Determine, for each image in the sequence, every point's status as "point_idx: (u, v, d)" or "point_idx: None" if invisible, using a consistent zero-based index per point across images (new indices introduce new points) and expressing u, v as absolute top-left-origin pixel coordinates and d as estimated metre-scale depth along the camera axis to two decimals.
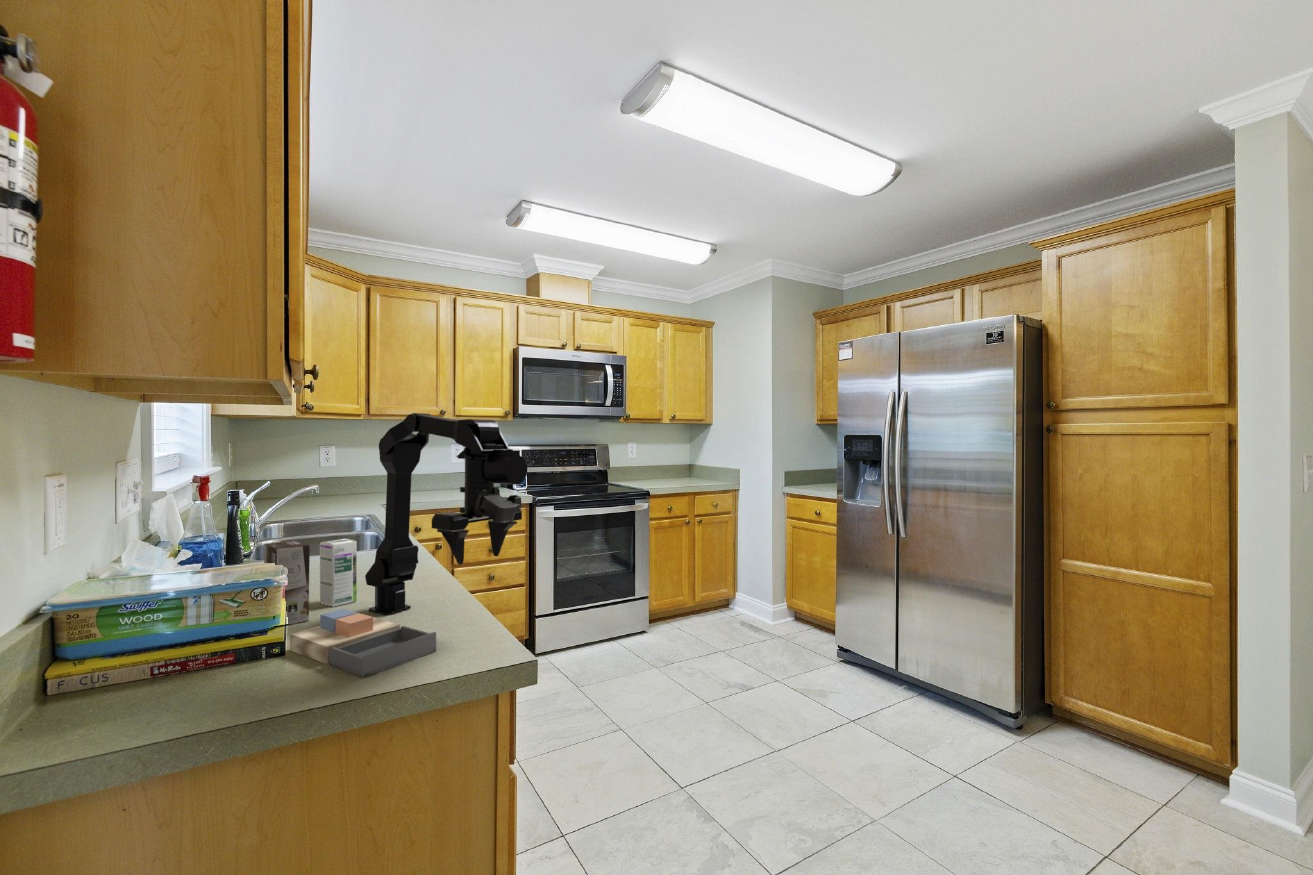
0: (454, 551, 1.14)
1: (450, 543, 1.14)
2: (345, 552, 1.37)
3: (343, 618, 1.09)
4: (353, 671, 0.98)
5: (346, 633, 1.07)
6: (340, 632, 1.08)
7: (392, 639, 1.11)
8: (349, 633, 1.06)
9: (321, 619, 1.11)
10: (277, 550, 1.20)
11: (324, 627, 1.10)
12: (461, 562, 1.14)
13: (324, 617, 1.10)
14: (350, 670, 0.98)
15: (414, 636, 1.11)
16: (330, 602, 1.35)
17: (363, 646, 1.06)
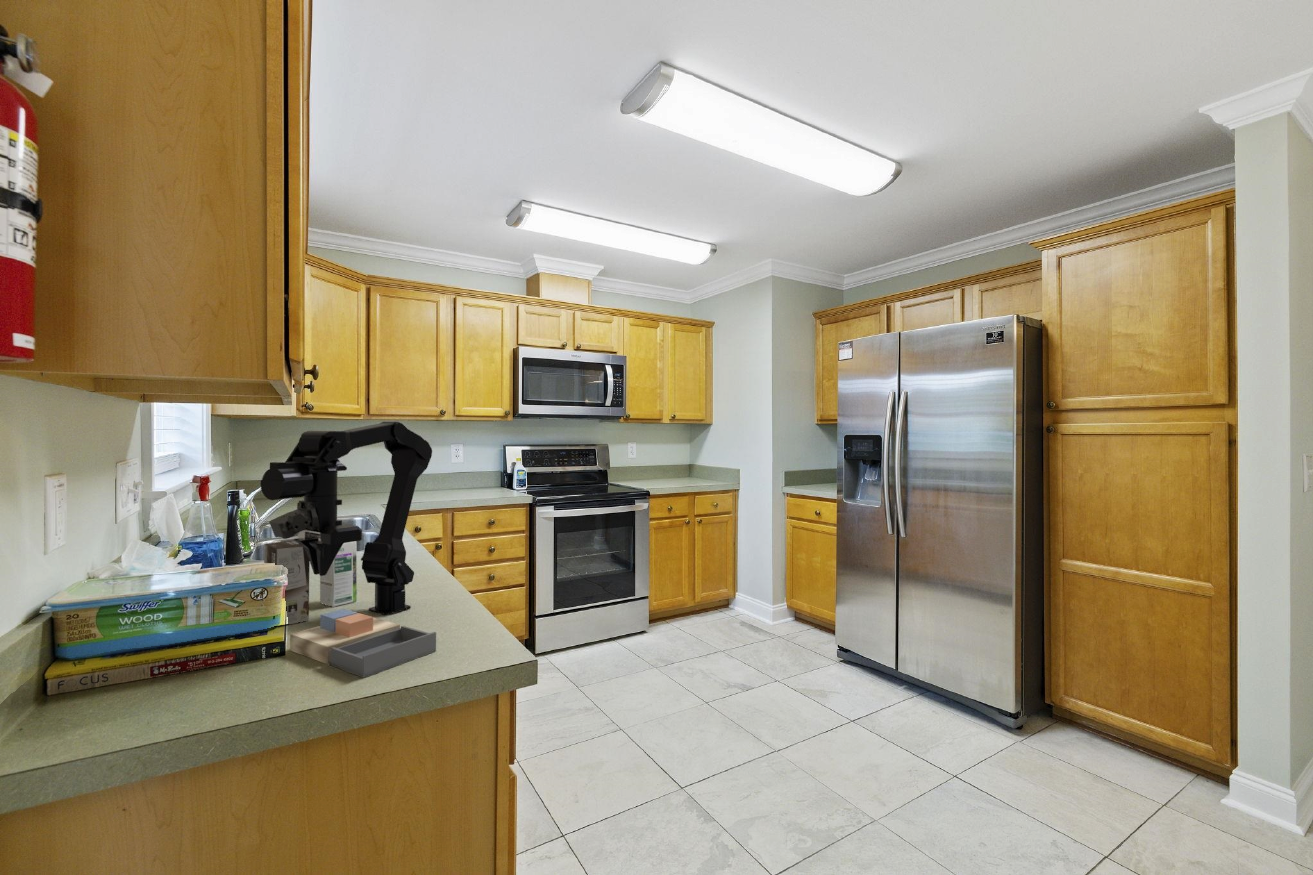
0: None
1: None
2: (345, 552, 1.37)
3: (343, 618, 1.09)
4: (353, 671, 0.98)
5: (346, 633, 1.07)
6: (340, 632, 1.08)
7: (392, 639, 1.11)
8: (349, 633, 1.06)
9: (321, 619, 1.11)
10: (277, 550, 1.20)
11: (324, 627, 1.10)
12: None
13: (324, 617, 1.10)
14: (350, 670, 0.98)
15: (414, 636, 1.11)
16: (330, 602, 1.35)
17: (363, 646, 1.06)
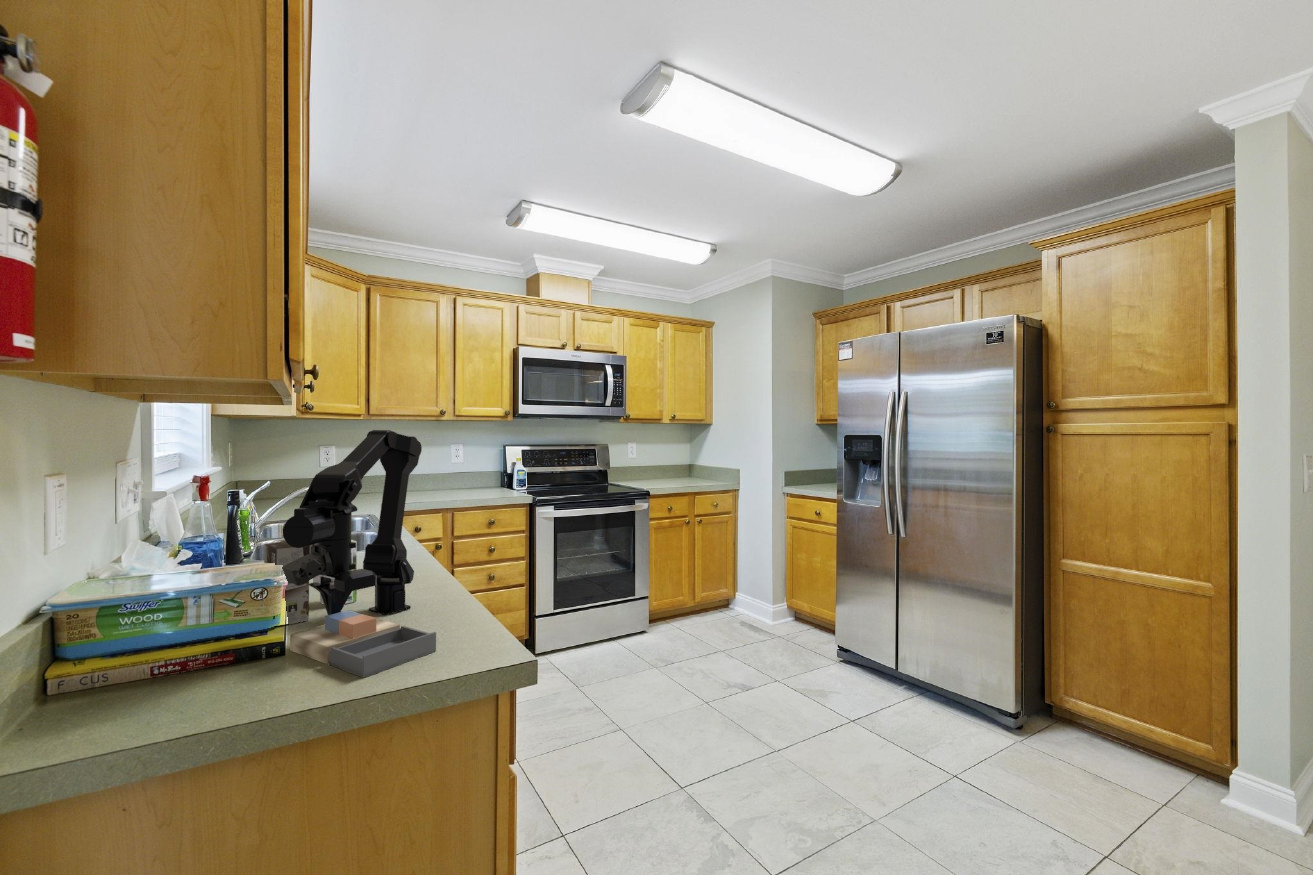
0: None
1: None
2: None
3: (346, 619, 1.08)
4: (353, 671, 0.98)
5: (349, 634, 1.06)
6: (343, 633, 1.07)
7: (392, 639, 1.11)
8: (352, 634, 1.06)
9: (326, 621, 1.10)
10: (277, 550, 1.20)
11: (329, 629, 1.10)
12: None
13: (328, 618, 1.10)
14: (350, 670, 0.98)
15: (414, 636, 1.11)
16: None
17: (363, 646, 1.06)
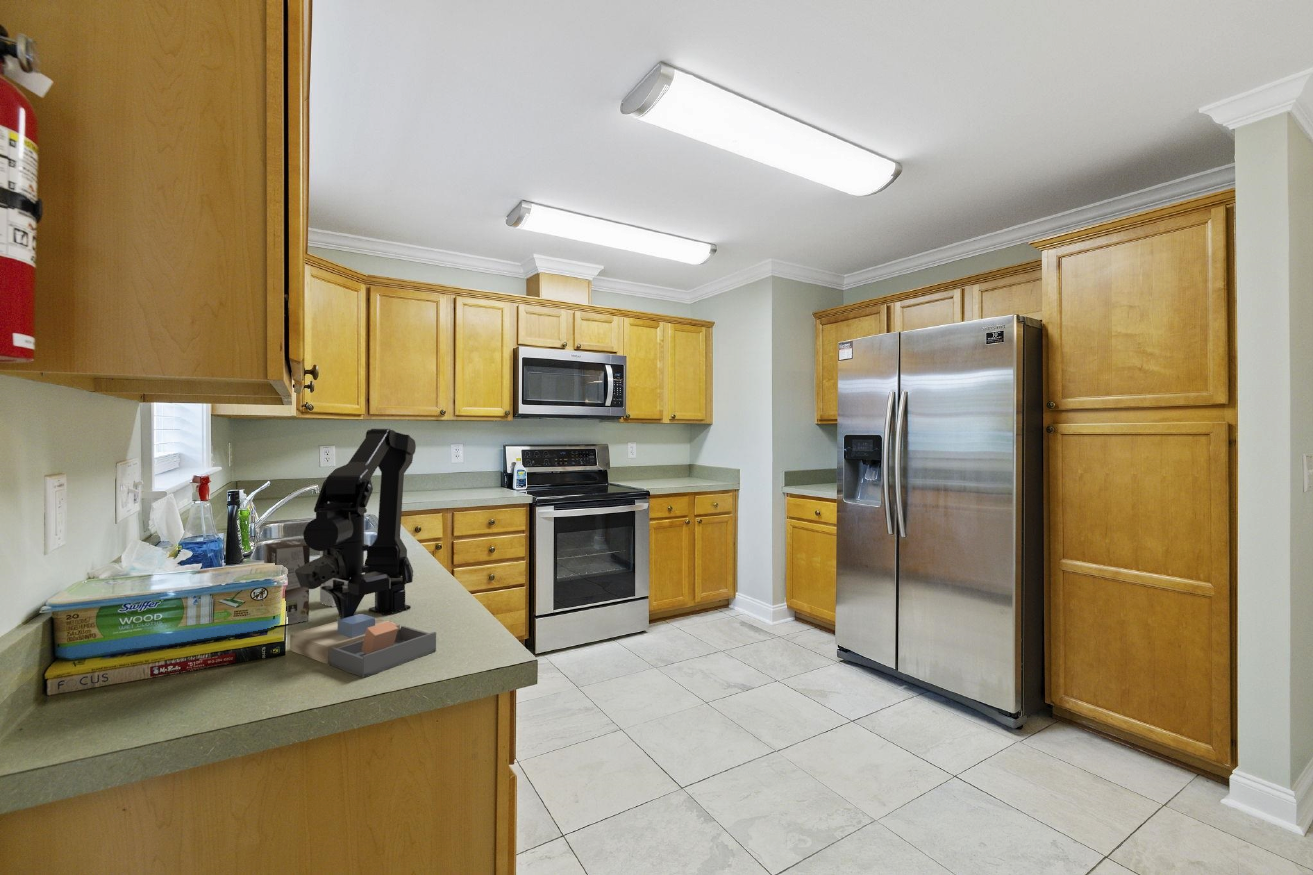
0: None
1: None
2: None
3: (378, 638, 1.03)
4: (353, 671, 0.98)
5: (364, 646, 1.04)
6: (366, 636, 1.04)
7: None
8: (363, 650, 1.04)
9: (339, 625, 1.08)
10: (277, 550, 1.20)
11: (341, 633, 1.07)
12: None
13: (341, 622, 1.08)
14: (350, 670, 0.98)
15: (414, 636, 1.11)
16: (330, 602, 1.35)
17: None
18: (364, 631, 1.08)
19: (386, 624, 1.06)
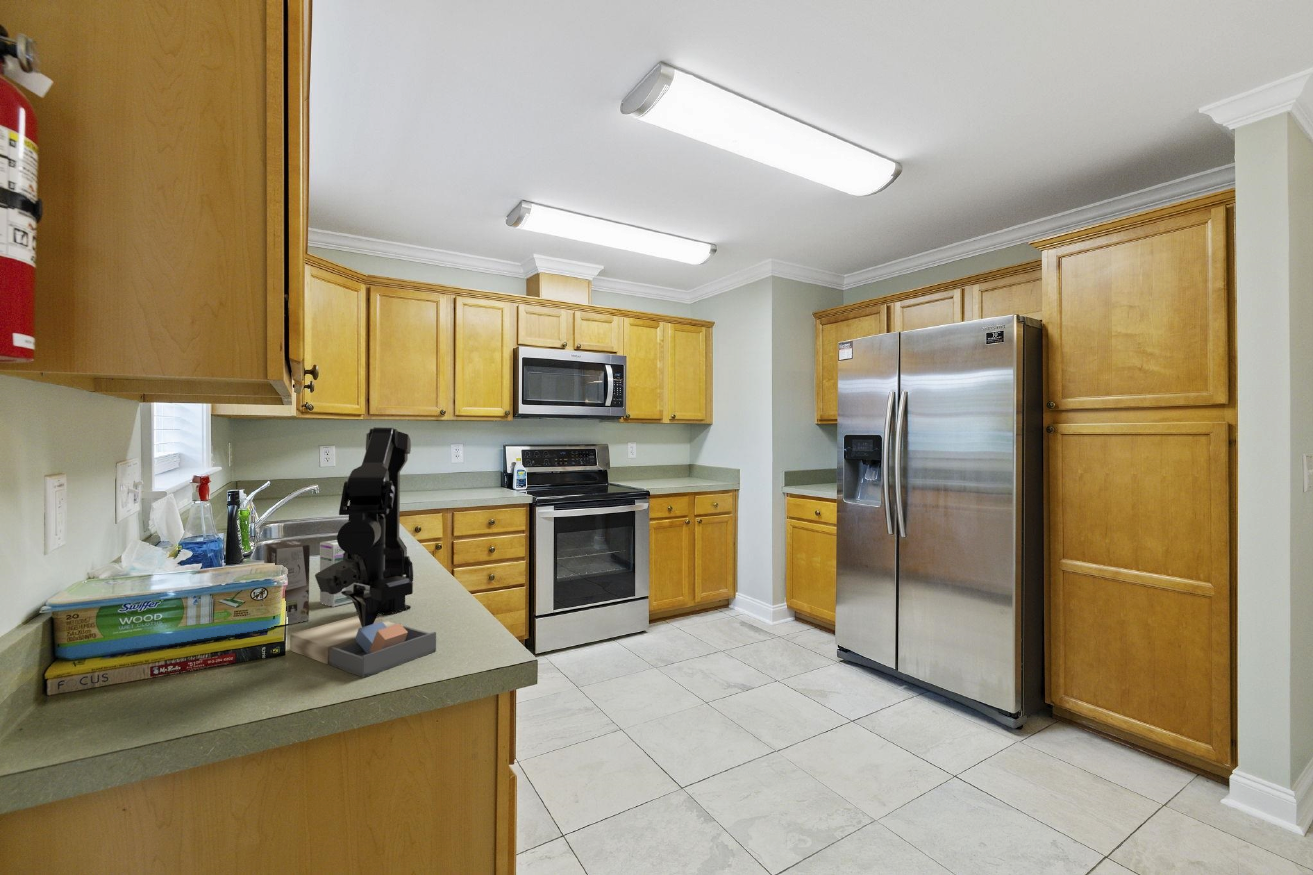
0: None
1: None
2: None
3: (388, 642, 1.02)
4: (353, 671, 0.98)
5: (372, 648, 1.03)
6: (375, 639, 1.02)
7: None
8: (371, 652, 1.03)
9: (359, 634, 1.05)
10: (277, 550, 1.20)
11: (359, 643, 1.05)
12: None
13: (362, 633, 1.04)
14: (350, 670, 0.98)
15: (414, 636, 1.11)
16: (330, 602, 1.35)
17: None
18: None
19: (396, 627, 1.05)
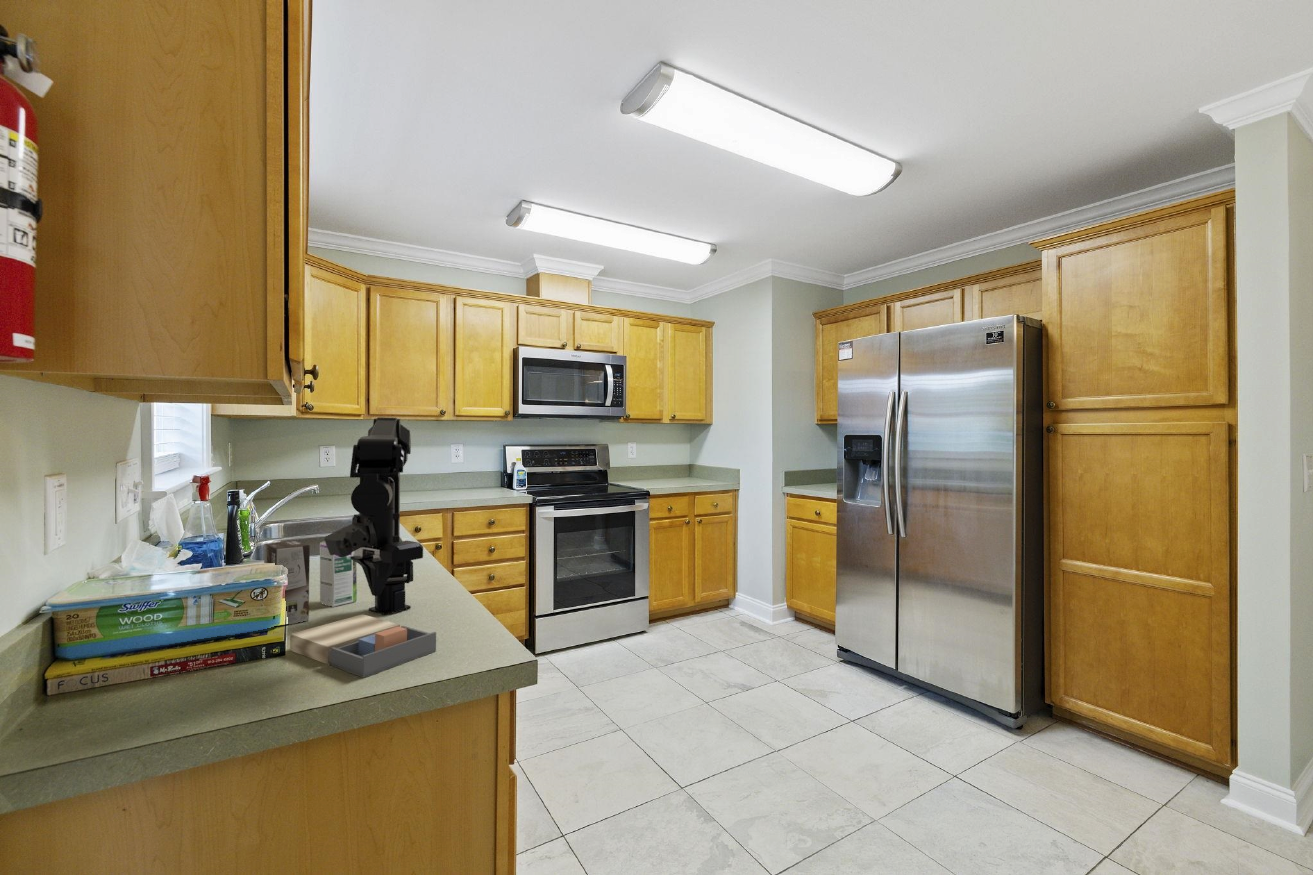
0: None
1: None
2: None
3: (388, 639, 1.02)
4: (353, 671, 0.98)
5: None
6: (376, 642, 1.02)
7: None
8: None
9: (360, 644, 1.05)
10: (277, 550, 1.20)
11: (363, 652, 1.04)
12: None
13: (362, 641, 1.05)
14: (350, 670, 0.98)
15: (414, 636, 1.11)
16: (330, 602, 1.35)
17: None
18: None
19: (394, 628, 1.05)
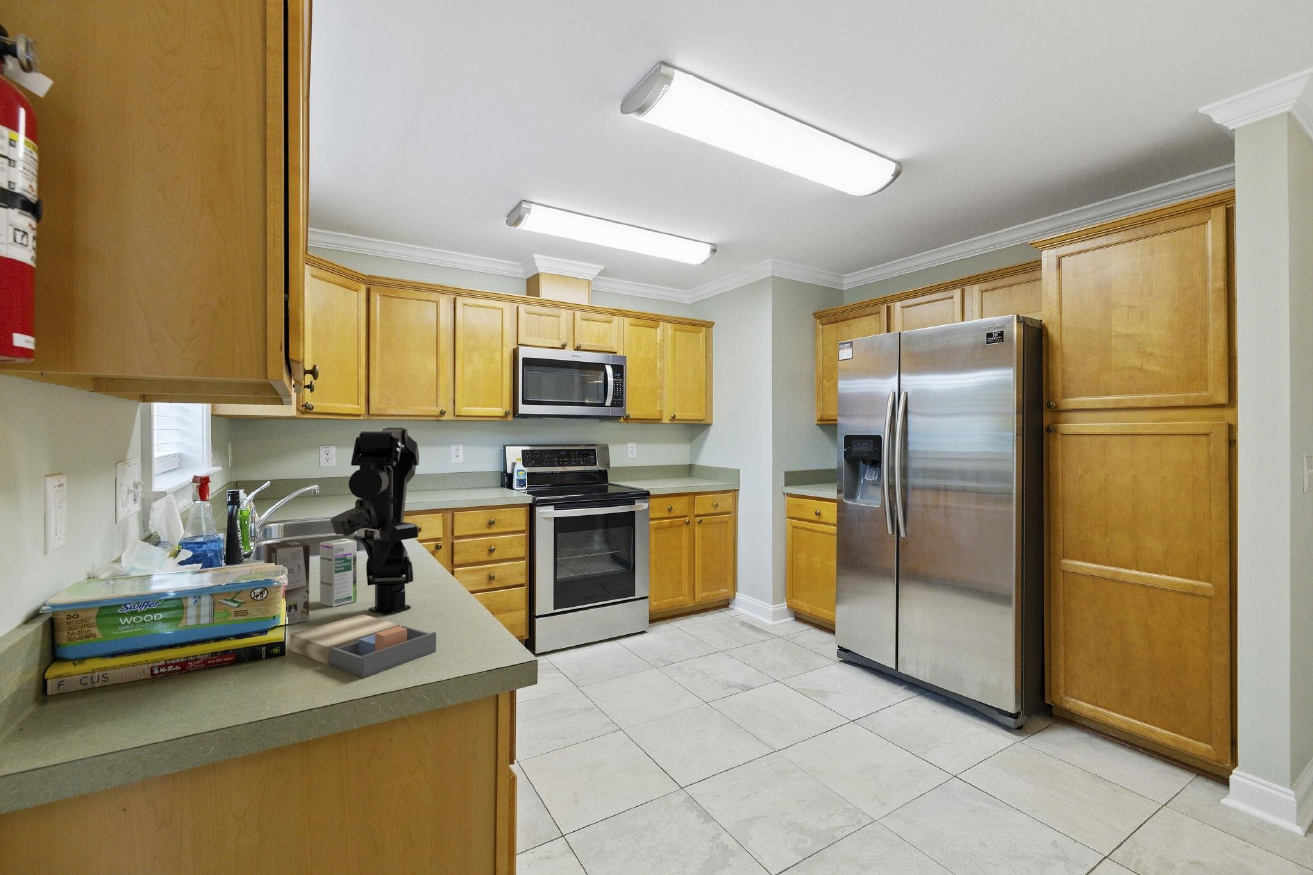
0: None
1: None
2: (345, 552, 1.37)
3: (388, 639, 1.02)
4: (353, 671, 0.98)
5: None
6: (376, 642, 1.02)
7: None
8: None
9: (360, 644, 1.05)
10: (277, 550, 1.20)
11: (363, 652, 1.04)
12: None
13: (362, 641, 1.05)
14: (350, 670, 0.98)
15: (414, 636, 1.11)
16: (330, 602, 1.35)
17: None
18: None
19: (394, 628, 1.05)
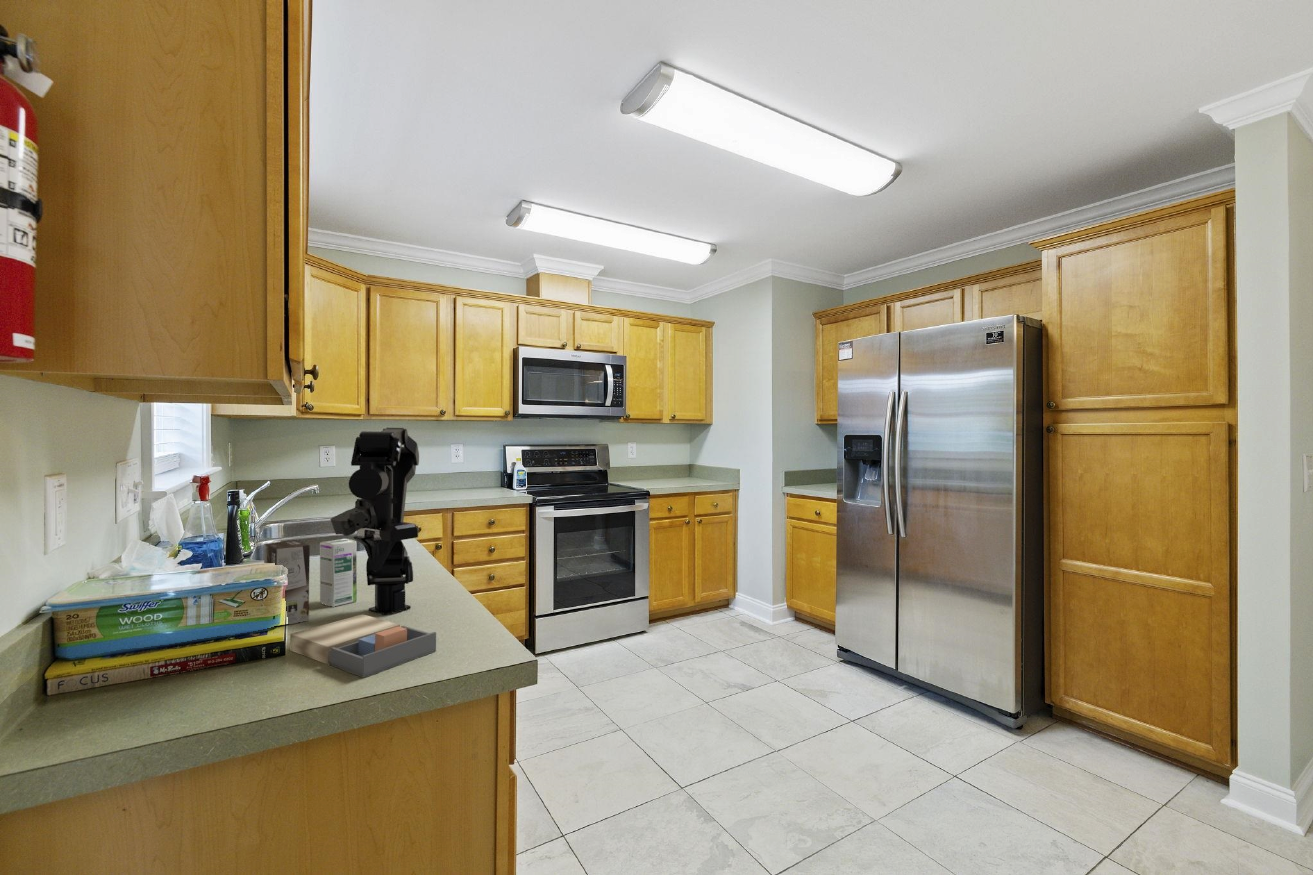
0: None
1: None
2: (345, 552, 1.37)
3: (388, 639, 1.02)
4: (353, 671, 0.98)
5: None
6: (376, 642, 1.02)
7: None
8: None
9: (360, 644, 1.05)
10: (277, 550, 1.20)
11: (363, 652, 1.04)
12: None
13: (362, 641, 1.05)
14: (350, 670, 0.98)
15: (414, 636, 1.11)
16: (330, 602, 1.35)
17: None
18: None
19: (394, 628, 1.05)
